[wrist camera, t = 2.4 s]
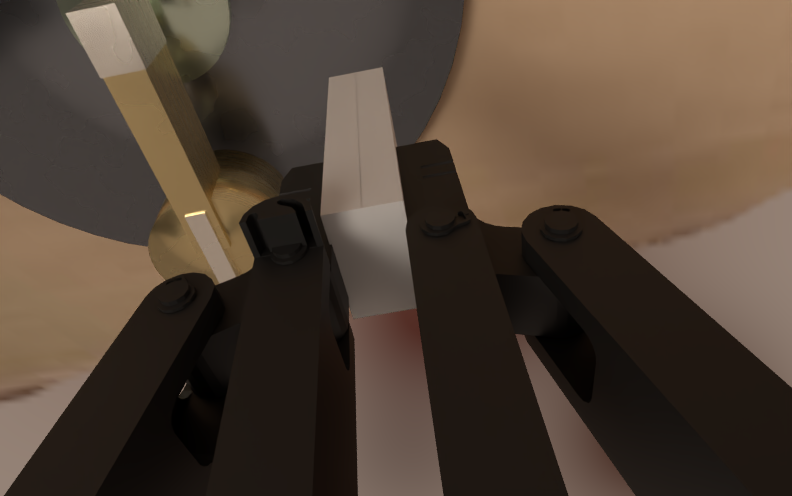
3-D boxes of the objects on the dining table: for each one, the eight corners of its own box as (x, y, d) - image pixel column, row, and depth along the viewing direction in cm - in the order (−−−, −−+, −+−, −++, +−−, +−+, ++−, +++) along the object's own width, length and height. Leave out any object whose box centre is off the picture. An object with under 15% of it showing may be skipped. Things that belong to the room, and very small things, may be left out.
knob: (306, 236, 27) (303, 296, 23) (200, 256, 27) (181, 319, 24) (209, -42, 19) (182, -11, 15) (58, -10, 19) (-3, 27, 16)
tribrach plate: (41, 275, 28) (21, 306, 27) (-520, -414, 13) (-659, -453, 11) (479, 191, 28) (490, 218, 26) (415, -645, 12) (430, -726, 11)
